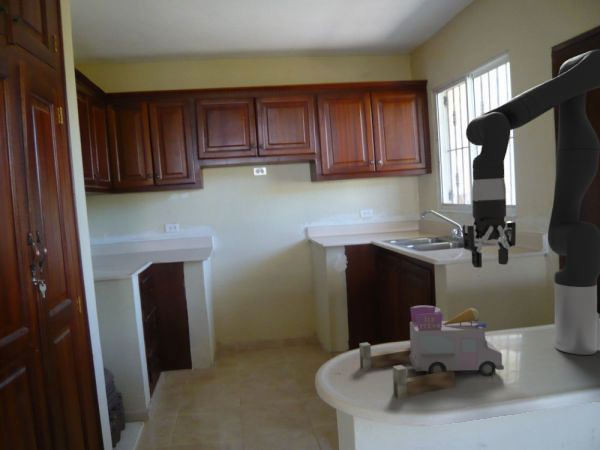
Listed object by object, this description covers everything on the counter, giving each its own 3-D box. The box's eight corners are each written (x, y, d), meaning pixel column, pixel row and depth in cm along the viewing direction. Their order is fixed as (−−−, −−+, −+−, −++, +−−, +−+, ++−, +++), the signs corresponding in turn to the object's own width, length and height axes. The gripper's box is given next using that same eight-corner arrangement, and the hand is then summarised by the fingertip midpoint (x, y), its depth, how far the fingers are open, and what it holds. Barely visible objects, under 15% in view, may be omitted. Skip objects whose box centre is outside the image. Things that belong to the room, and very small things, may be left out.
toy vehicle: (505, 379, 97) (504, 312, 97) (416, 380, 99) (414, 315, 98) (489, 363, 107) (488, 302, 106) (408, 365, 108) (407, 304, 107)
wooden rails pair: (410, 358, 112) (409, 335, 111) (455, 386, 95) (455, 359, 94) (360, 367, 107) (359, 343, 107) (398, 398, 90) (397, 369, 90)
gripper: (501, 197, 112) (502, 261, 113) (453, 199, 107) (455, 266, 108) (524, 196, 105) (525, 265, 106) (475, 199, 100) (476, 270, 101)
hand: (490, 265), depth 107 cm, fingers open, 7 cm apart
